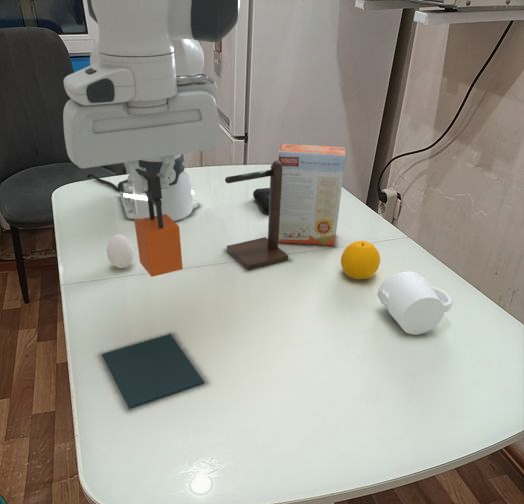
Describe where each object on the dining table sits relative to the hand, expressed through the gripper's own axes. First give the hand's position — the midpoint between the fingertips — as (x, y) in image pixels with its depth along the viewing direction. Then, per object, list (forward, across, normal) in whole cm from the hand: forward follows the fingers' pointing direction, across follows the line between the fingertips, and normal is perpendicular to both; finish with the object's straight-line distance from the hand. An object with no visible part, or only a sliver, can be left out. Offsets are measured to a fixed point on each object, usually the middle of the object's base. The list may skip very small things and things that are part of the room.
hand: (152, 189), depth 71 cm
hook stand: (+27, -28, -21) cm, 44 cm away
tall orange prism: (+12, 0, 0) cm, 12 cm away
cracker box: (+27, -43, -23) cm, 56 cm away
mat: (+27, +5, +5) cm, 28 cm away
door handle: (+27, -52, -41) cm, 71 cm away
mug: (+28, -43, +14) cm, 53 cm away
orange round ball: (+27, -44, -4) cm, 52 cm away
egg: (+27, -1, -29) cm, 40 cm away
